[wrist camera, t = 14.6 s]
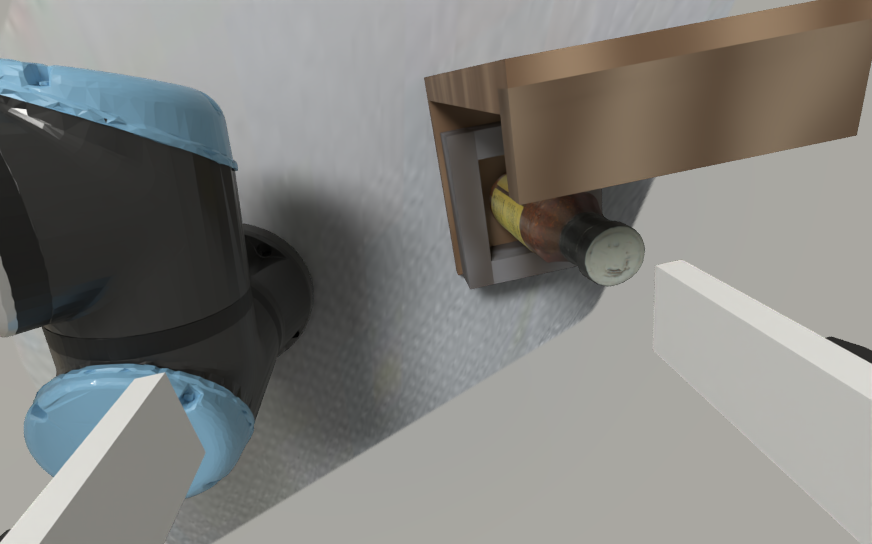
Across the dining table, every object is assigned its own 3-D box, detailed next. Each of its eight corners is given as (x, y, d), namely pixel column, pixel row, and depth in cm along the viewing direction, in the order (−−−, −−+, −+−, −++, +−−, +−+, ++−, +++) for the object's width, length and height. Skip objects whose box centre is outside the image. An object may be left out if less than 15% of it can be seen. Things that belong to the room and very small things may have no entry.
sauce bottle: (522, 235, 48) (616, 326, 29) (474, 207, 46) (542, 286, 27) (558, 182, 46) (681, 244, 28) (510, 151, 44) (607, 195, 26)
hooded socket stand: (456, 271, 49) (545, 462, 24) (424, 77, 41) (504, 59, 16) (586, 243, 50) (803, 400, 25) (578, 48, 42) (886, -13, 17)
